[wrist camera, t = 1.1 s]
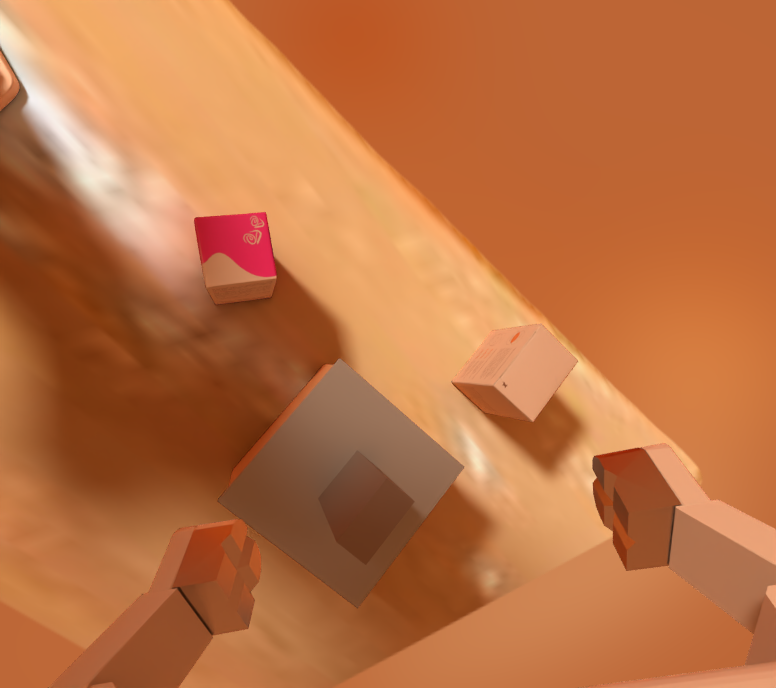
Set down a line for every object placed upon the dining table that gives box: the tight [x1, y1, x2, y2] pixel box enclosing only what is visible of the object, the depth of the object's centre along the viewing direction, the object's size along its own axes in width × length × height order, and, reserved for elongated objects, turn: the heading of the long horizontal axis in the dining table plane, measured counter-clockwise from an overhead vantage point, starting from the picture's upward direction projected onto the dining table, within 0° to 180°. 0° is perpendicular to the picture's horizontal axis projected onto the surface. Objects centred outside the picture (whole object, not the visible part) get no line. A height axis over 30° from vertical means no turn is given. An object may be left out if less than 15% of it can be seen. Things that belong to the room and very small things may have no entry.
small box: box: [452, 324, 578, 422], centre depth 52 cm, size 8×6×10 cm
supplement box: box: [194, 212, 277, 305], centre depth 44 cm, size 6×6×12 cm
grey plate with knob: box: [218, 359, 464, 608], centre depth 37 cm, size 15×15×11 cm
